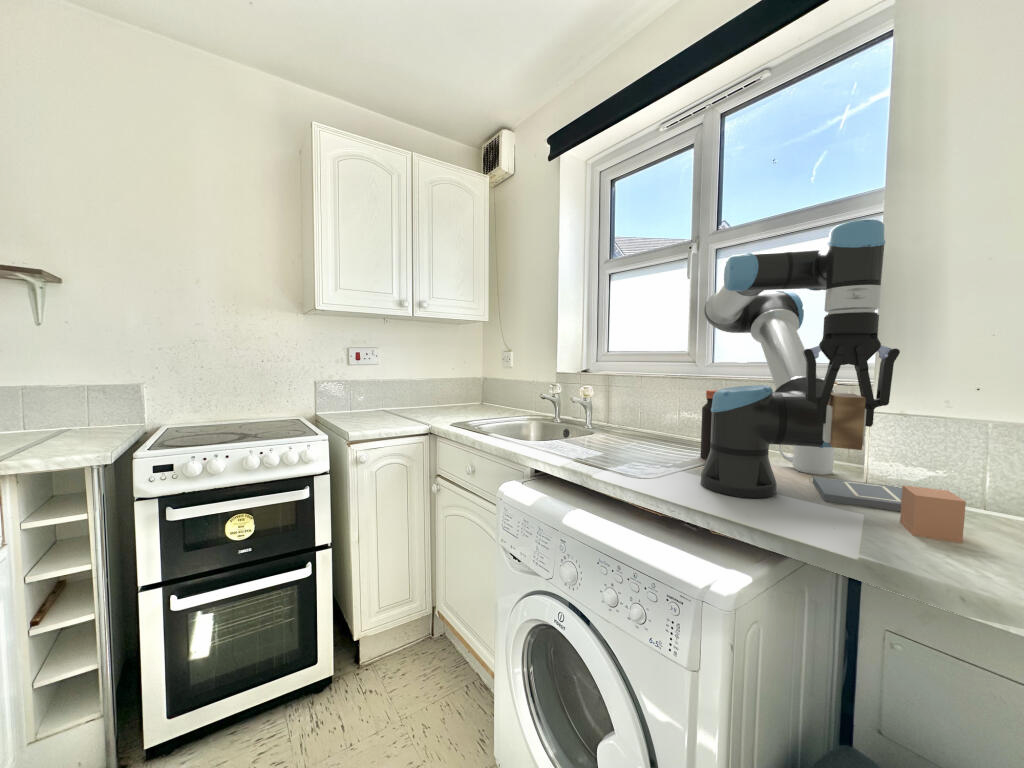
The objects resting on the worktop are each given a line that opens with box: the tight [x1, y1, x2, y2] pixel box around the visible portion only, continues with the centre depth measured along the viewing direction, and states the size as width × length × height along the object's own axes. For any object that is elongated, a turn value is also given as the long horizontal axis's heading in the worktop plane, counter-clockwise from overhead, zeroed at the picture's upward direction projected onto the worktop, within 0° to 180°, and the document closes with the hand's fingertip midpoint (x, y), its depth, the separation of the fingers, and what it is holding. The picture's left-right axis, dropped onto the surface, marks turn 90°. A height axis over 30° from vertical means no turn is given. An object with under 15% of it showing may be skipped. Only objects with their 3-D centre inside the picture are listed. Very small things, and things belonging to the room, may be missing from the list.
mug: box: [778, 445, 835, 476], centre depth 109 cm, size 9×12×11 cm
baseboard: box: [812, 476, 902, 513], centre depth 87 cm, size 18×14×2 cm
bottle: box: [700, 389, 719, 460], centre depth 120 cm, size 7×7×20 cm
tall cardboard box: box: [827, 392, 866, 451], centre depth 74 cm, size 4×8×9 cm, turn 151°
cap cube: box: [899, 484, 967, 544], centre depth 70 cm, size 6×6×7 cm
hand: (842, 442), depth 74 cm, fingers closed on tall cardboard box, 4 cm apart
